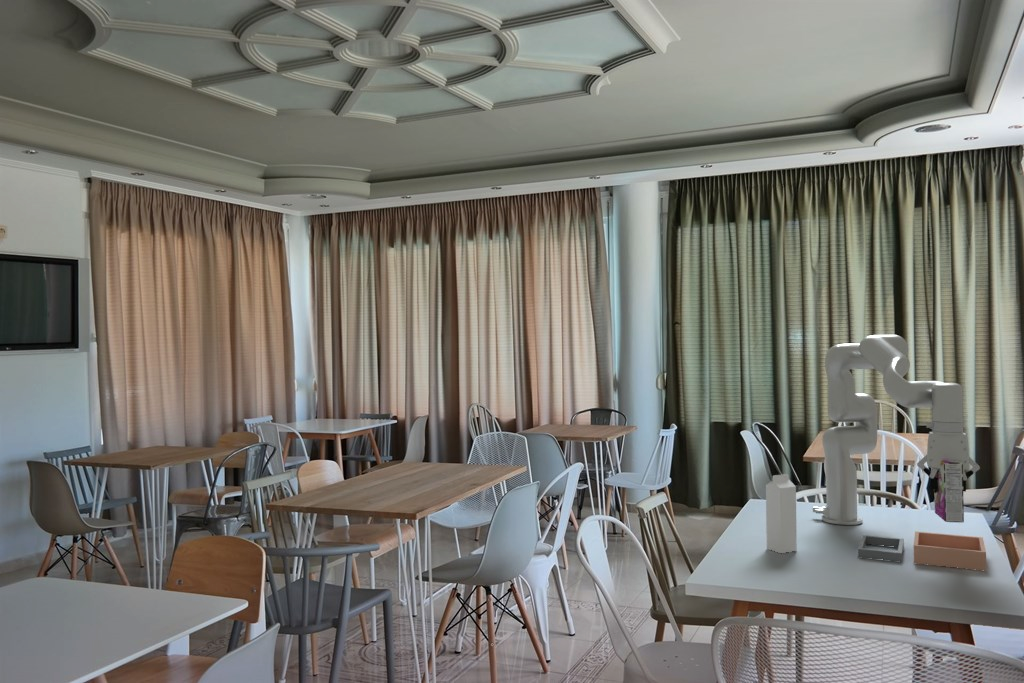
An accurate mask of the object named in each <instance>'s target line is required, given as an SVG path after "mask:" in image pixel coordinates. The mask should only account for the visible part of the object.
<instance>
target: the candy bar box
mask: <svg viewBox="0 0 1024 683" xmlns="http://www.w3.org/2000/svg"><path fill="white" fill-rule="evenodd" d="M935 475H936V484H937V493H934V513H935V514H936V515H937V516H938V517H939V518H940V519H942V520H943V521H944V522H945V523H964V522H965V519H964V517H965V506H964V503H965V502H964V491H963V463H962V462H960V461H945V460H944V461H941V468H940V469H938V470H937V472H936V474H935Z"/></svg>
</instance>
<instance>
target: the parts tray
mask: <svg viewBox="0 0 1024 683" xmlns="http://www.w3.org/2000/svg"><path fill="white" fill-rule="evenodd" d="M866 544H872V545H871V546H876V545H884V546H883V547H886V546H894V547H893V548H896V547H898V548H897V551H891V550H880V549H872V548H870V549H869V548H866V547H865V546H867V545H866ZM904 544H905V539H904V538H898V537H897V538H896V537H889V536H887V537H886V536H877V535H867V534H866V535H865V534H863V535H862V537H861V539H860V542H859V545H858V548H857V558H858V557H862V558H861V559H865V558H872V559H871V560H874V559H883V560H882V561H884V560H890V561H889V562H893V561H900V562H899V563H902V562H903V555H904V550H905V549H904V548H905V546H904ZM903 549H904V550H903Z"/></svg>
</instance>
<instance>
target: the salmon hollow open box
mask: <svg viewBox="0 0 1024 683" xmlns="http://www.w3.org/2000/svg"><path fill="white" fill-rule="evenodd" d="M913 539H914V540H913V564H914V563H917V564H916V565H921V564H926V565H925V566H931V565H937V566H936V567H940V566H946V567H945V568H950V567H958V568H957V569H959V568H967V569H966V570H968V569H976V570H975V571H978V570H984V571H983V572H987V551H986V545H985V541H984V537H982V536H972V535H971V536H969V535H958V534H946V533H937V532H936V533H935V532H926V531H914V538H913ZM927 564H928V565H927ZM947 566H948V567H947Z"/></svg>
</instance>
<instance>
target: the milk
mask: <svg viewBox="0 0 1024 683" xmlns="http://www.w3.org/2000/svg"><path fill="white" fill-rule="evenodd" d="M765 510H766V511H765V512H766V513H765V515H766V518H765V521H766V524H765V525H766V532H765V533H766V549H767V550H769V551H771V550H772V552H774V551H775V553H777V552H778V553H777V554H780V553H782V554H787V553H786V552H789V553H793V552H792V551H795V552H797V551H798V548H797V545H798V544H797V542H798V541H797V486H796V485H795V484H794V483H793V481H791V480H790V476H789V473H783V474H775V475H772V480H771V481H770V482H768V483H767V484H765Z"/></svg>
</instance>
